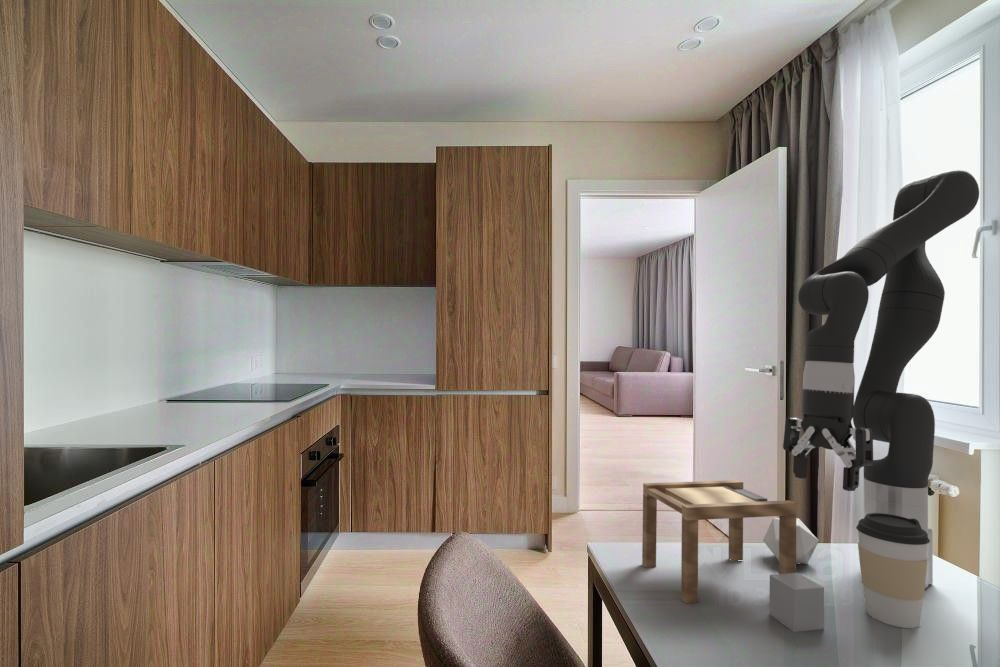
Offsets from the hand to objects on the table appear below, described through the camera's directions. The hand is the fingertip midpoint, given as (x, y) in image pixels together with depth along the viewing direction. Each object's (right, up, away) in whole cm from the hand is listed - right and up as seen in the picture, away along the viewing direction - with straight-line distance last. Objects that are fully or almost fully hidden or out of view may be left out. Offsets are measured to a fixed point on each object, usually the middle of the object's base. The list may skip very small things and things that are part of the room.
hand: (823, 483), depth 88 cm
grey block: (-11, -17, -11) cm, 23 cm away
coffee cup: (+5, -18, -9) cm, 21 cm away
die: (+1, -18, +11) cm, 22 cm away
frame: (-17, -18, +3) cm, 25 cm away
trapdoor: (-17, -6, +3) cm, 18 cm away
